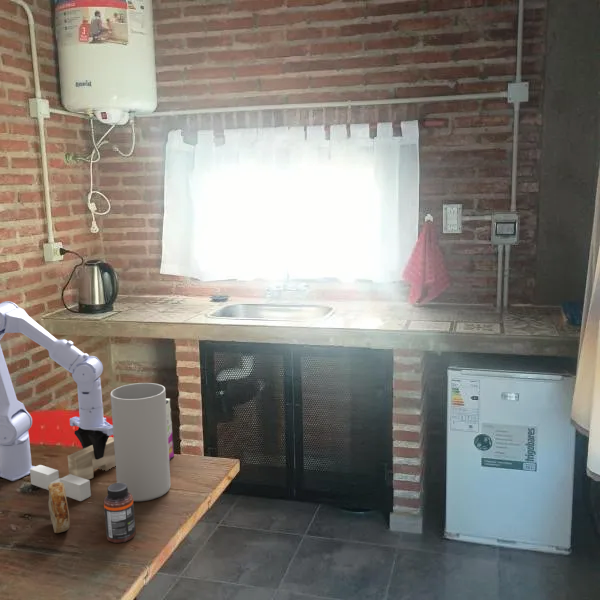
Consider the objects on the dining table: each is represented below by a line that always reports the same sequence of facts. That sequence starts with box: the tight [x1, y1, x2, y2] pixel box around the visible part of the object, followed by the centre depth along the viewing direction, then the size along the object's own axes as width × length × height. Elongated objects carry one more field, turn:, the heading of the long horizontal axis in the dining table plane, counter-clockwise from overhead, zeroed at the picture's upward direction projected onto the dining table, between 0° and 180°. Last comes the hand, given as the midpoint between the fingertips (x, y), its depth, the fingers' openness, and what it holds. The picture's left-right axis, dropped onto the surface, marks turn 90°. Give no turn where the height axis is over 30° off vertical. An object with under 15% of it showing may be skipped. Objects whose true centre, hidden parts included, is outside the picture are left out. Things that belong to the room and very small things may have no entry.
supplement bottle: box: [103, 482, 136, 544], centre depth 139 cm, size 6×6×11 cm
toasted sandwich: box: [47, 482, 71, 534], centre depth 143 cm, size 10×4×10 cm, turn 25°
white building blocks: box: [29, 464, 92, 502], centre depth 161 cm, size 18×3×4 cm, turn 58°
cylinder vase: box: [110, 382, 172, 502], centre depth 159 cm, size 12×12×25 cm
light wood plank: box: [67, 436, 116, 480], centre depth 170 cm, size 3×14×7 cm, turn 148°
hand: (94, 456), depth 170 cm, fingers closed on light wood plank, 3 cm apart
